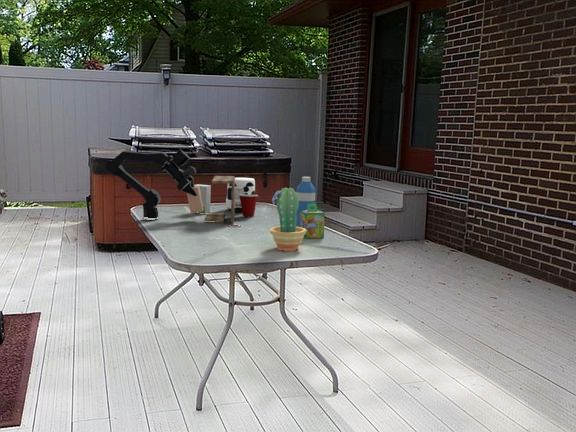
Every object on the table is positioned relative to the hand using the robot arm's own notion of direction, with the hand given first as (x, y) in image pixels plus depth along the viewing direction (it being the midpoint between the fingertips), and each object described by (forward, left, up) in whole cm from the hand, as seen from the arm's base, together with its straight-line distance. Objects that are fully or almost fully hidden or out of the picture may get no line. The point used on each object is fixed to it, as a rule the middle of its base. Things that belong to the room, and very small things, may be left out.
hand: (197, 194), depth 298 cm
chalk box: (+63, -23, -14) cm, 68 cm away
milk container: (+13, +38, -14) cm, 42 cm away
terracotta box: (0, 0, -9) cm, 9 cm away
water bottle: (+57, -5, -13) cm, 58 cm away
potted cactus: (+57, -50, -13) cm, 77 cm away
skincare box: (-5, +22, -13) cm, 27 cm away
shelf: (+11, +4, -13) cm, 18 cm away
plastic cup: (+22, +20, -13) cm, 33 cm away
